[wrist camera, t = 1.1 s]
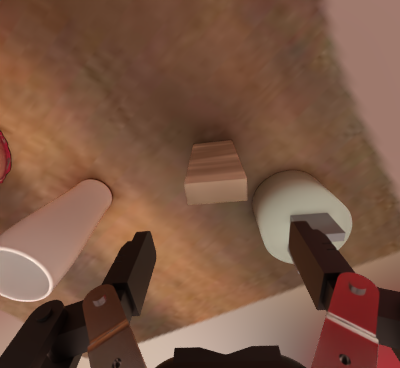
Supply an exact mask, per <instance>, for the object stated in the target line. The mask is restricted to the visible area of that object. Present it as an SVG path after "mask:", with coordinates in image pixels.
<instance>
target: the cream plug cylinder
mask: <svg viewBox="0 0 400 368" xmlns="http://www.w3.org/2000/svg"><path fill="white" fill-rule="evenodd" d="M252 208H253V212H254V215H255V218H256V221H257V224H258V227H259V230H260V233H261V236H262V239H263V242H264V244H265V247H266V248H267V250H268V251H269V252H270V254H271V255H273V256H274V257H275V258H277V259H279V260H281V261H284V262H287V263H292V264H294V266H295V268H296V270H297V272H298V274H300V273H299V271H298V269H297V267H296V265H295V262H294V260H293V258H292V256H291V254H290V251H289V232H290V223H291V222H292V221H307V222H308V224H309V225H310V227H311V228H312V229H318V230H320V231H321V232H322V233H324V234H325V235H327V237H328V238H329V239H330V241H331V242H332V244H334V246H335V247H336V248H337V250H338V249H340V248H341V247H342V246H343V244H344V243H345V242H346V240H347V239H348V237H349V235H350V232H351V229H352V218H351V215H350V212H349V211H348V209H347V208H346V207H345V205H344V204H343V203H341V202H340V201H339V200H338V199H337V198H336V197H335V196H334V195H333V194H332V193H331V192H329V191H328V190H327V189H326V188H325V187H324V186H323V185H322V184H321V183H320V182H319V181H317V180H316V179H315V178H314V177H313V176H311V175H310V174H308V173H305V172H302V171H296V170H288V171H283V172H279V173H276V174H274V175H272V176H270V177H269V178H267V179H266V180H265V181H263V182H262V183H261V184H260V186H259V187H258V188H257V190H256V192H255V194H254V196H253V200H252Z"/></svg>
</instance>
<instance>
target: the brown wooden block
mask: <svg viewBox="0 0 400 368" xmlns="http://www.w3.org/2000/svg"><path fill="white" fill-rule="evenodd" d="M184 186H185V192H186V198H187V204H188V205H196V204H208V203H221V202H233V201H246V200H247V178H246V175H245V172H244V170H243V167H242V165H241V162H240V160H239V157H238V155H237V152H236V149H235V147H234V144H233V142H232V140H227V141H218V142H208V143H199V144H193V148H192V153H191V157H190V161H189V166H188V170H187V174H186V178H185V183H184Z"/></svg>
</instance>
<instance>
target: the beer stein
mask: <svg viewBox="0 0 400 368" xmlns="http://www.w3.org/2000/svg"><path fill="white" fill-rule="evenodd" d="M7 146H8V144H7V142H6V140H5V138H4V137H3V136H2V133H1V131H0V182H1V183H2V182H3V180H4V179H5V176H6V174H8V173H7V172H9V171H10V165H11V164H10V163H11V162H10V161H11V158H10V151H9V149H8V147H7Z"/></svg>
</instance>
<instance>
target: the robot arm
mask: <svg viewBox="0 0 400 368" xmlns="http://www.w3.org/2000/svg"><path fill="white" fill-rule="evenodd" d="M289 251H290V254H291V256H292V258H293V260H294V262H295V265H296V267H297V269H298V271H299V273H300V275H301V277H302V279H303V281H304V284H305V286H306V288H307V290H308V292H309V294H310V296H311V298H312V300H313V302H314V305H315V307H316V309H317V310H326V311H327V314H326V318H325V320H324V324H323V327H322V331H321V334H320V338H319V341H318V344H317V348H316V351H315V355H314V358H313V362H312V365H311V368H377V358H378V344H381V345H385V346H388V347H391V348H392V350H393V351H394V353H395V355H396V356H397V358H398V359H399V361H400V292H397V291H392V290H387V289H382V288H379V287H377V286H376V285H375V284H374V283H373V282H372V281H371V280H369V279H368V278H366V277H364V276H362V275H360V274H357V273H355V272H354V271H353V269H352V268H351V267H350V265H349V264H348V263H347V261H346V260H345V259H344V257H343V256H342V255H341V254H340V252H339V251H338V250H337V248H336V247H335V246H334V244H332V242H331V241H330V239H329V238H328V237H327V235H325V234H324V233H322V232H321V231H320V230H318V229H312V228H311V227H310V225H309V224H308V222H307V221H292V222H291V223H290V232H289ZM155 262H156V250H155V246H154V242H153V239H152V235H151V232H150V231H144V232H136V234H135V236H134V238H133V240H132V241H128V242H127V243H126V244H125V245H124V246H123V247H122V248H121V249H120V251H119V253H118V255H117V257H116V259H115V260H114V263H113V264H112V266H111V268H110V270H109V272H108V274H107V276H106V277H105V279H104V281H103V283H102V285H100V286H98V287H96V288H94V289H93V290H91V291H90V292H89V293H88V294H87V295H86V297H85V298H84V300H82V301H80V302H77V303H74V304H71V305H68V306H64V305H63V303H62V302H61V301H59V300H52V301H49V302H46V303H44V304H43V305H41V306H39V307H38V308H37V309H36V310H35V311H33V313H32V314H31V315H30V316H29V317H28V319H27V320H26V322H25V323H24V324H23V326H22V327H21V329H20V330H19V331H18V333H17V334H16V336H15V337H14V338H13V340H12V341H11V343H10V344H9V346H8V347H7V348H6V350H5V351H4V353H3V354H2V355H1V357H0V368H77V365H78V363H79V360H80V358H81V356H82V353H85V352H87V351H88V356H89V361H90V367H91V368H147V367H146V365H145V362H144V359H143V357H142V354H141V352H140V349H139V347H138V344H137V342H136V339H135V337H134V334H133V332H132V329H131V327H130V324H129V323H130V320H131V317H132V316H140V313H141V310H142V306H143V303H144V299H145V296H146V293H147V289H148V286H149V282H150V279H151V276H152V272H153V269H154V266H155ZM156 368H306V367H305V366H303V365H302V364H300V363H298V362H297V361H295V360H293V359H291V358H289V357H286V356H283V355H281V354H280V350H279V347H278V346H251V347H248V348H245V349H242V350H240V351H236V352H233V353H231V354H226V355H225V354H221V353H217V352H214V351H210V350H207V349H203V348H200V347H197V348H175V350H174V357H173V358H170V359H168V360H166V361H164V362H162V363H161V364H159V365H158V366H157V367H156Z"/></svg>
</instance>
